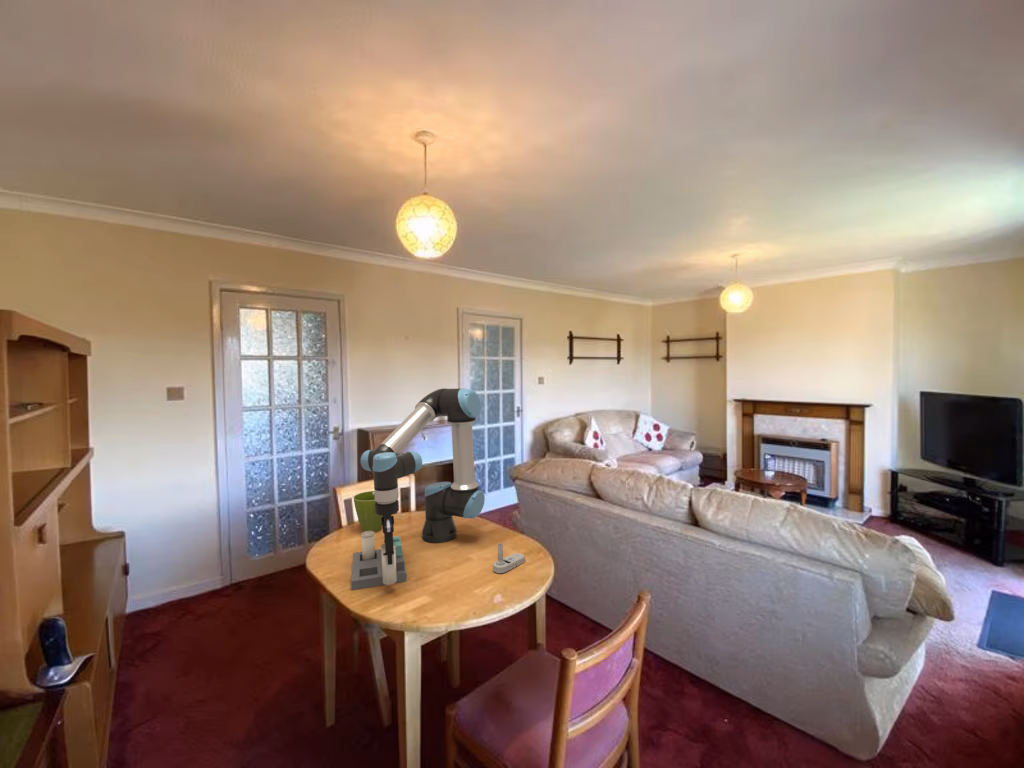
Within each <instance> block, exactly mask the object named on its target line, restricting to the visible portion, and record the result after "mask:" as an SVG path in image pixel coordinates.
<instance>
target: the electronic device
mask: <svg viewBox="0 0 1024 768" xmlns="http://www.w3.org/2000/svg"><path fill="white" fill-rule="evenodd" d="M525 557H526V556H525V555H524V554H523V553H520V552H515V553H512V554H510V555H507V556H506V557H504V543H500V542H499V543H498V544H497V560H496V561H494V562H493V563H492V570H493V572H494V573H496V574H504V573H506V572H509V571H510V570H512V569H515V568H517V567H518V565H519V566H520V565H522V564H524V563H525V562H526V561H525V560H526V559H525ZM524 561H525V562H524ZM523 562H524V563H523ZM521 563H522V564H521ZM516 566H517V567H516Z"/></svg>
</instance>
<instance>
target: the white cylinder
mask: <svg viewBox="0 0 1024 768" xmlns="http://www.w3.org/2000/svg"><path fill="white" fill-rule="evenodd" d="M360 537H361V552H362V561H364V560H371V559H375V550H376V549H375V532H374V531H365V532H364V531H362V532H361V533H360Z"/></svg>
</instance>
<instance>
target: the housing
mask: <svg viewBox="0 0 1024 768" xmlns="http://www.w3.org/2000/svg"><path fill="white" fill-rule="evenodd" d="M374 550H375V559H371V560H364V561H362V551H358V552H353V554H352V566H351V581H350V583H351V584H350V585H351V586H350V587H351V591H355V590H354V589H356V590H362V589H369V588H374V587H381V586H387V585H386V584H383V577H382V554H381V548H380V549H374ZM396 574H397V581H396V582H395V583H394V584H398V583H400V584H401V583H405V582H407V578H408V577H407V576H408V575H407V568H406V564H405V558H404V552H403V551H402V556H398V557H396Z"/></svg>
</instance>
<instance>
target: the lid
mask: <svg viewBox="0 0 1024 768" xmlns="http://www.w3.org/2000/svg"><path fill="white" fill-rule="evenodd" d="M393 543H394V544H396V548H395V550H396V557H398V556H402V552H403V546H402V539H401V536H400V535H398V536H397V535H396V536H393Z"/></svg>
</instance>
